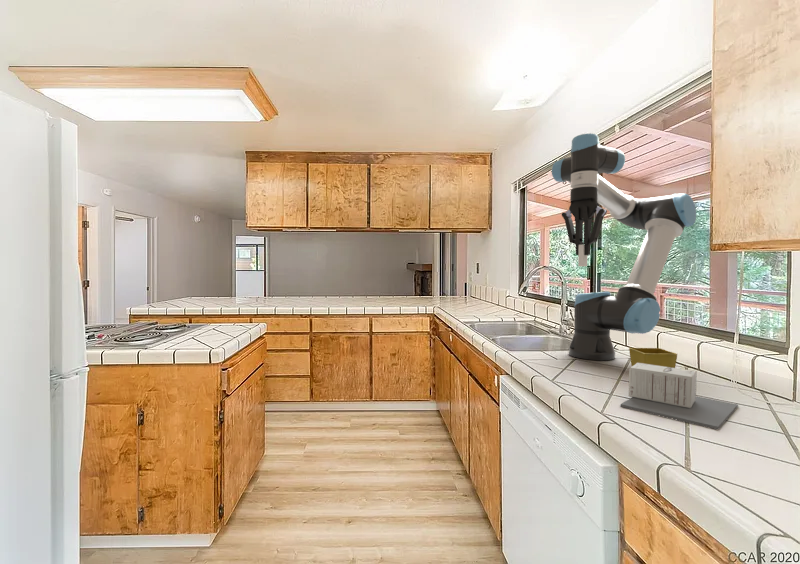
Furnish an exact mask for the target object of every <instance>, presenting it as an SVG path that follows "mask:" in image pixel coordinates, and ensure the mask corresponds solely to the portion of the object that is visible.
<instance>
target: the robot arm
mask: <svg viewBox="0 0 800 564" xmlns="http://www.w3.org/2000/svg"><path fill="white" fill-rule="evenodd" d="M625 164H626V157H625V153H624V152H623V151H622V150H620V149H617V148H615V147H609V146H605V145H602V144H600V139H599V136H598V134H596V133H591V132H590V133H584V134H583V133H582V134H579V135H576V136H574V137H573V138H572V140H571V148H570V156H568V157H564V158H562V159H559V160H556V161H555V162H554V163H553V165H552V166H551V167H552V168H551V176H552V178H553V179H554V181H556V183H557V182H558V183H566V182H568V183H570V188H571V189H570V197H569V198H570V206H569V208H568V210H566V211H565V212H562V213H561V216H562V218H563V220H564V222H565V227H566V228H565V229H566V232H567V235H568V240H569V243H570V244H574V245H575V255H576V256H577V257H578V260H577V261H578V262H577V263H578V264H577V265H578V267H588V256H590V255H591V246H592V244H594V243H597V242H598V239H599V235H600V231H601V229H602V225H603V221H604V217H605V216H606V215H607V213H608V211H609V215H610V216H611V217H612V218H613V219H614V220H615V221H617V222H619V223H621V224H623V225H625V226H628V227H630V228H633V229H635V230H636V229H637V230H642V231H643V230H644V231H646V234H645V236H644V239H643V241H642V244H641V246H640V249H639V250H638V254H637V257H636V259H635V262H634V264H633V266H632V269H631V272H630V274H629V276H628V279H627V282H626V284H625V285H623V286H620V287H619V288H618V290H617V293H616V294H615V295H612V294H611V292H610V291H600V292H599V291H597V292H586V293H585V292H584V293H578V294H576V296H575V299H574V305H573V307H574V322H573V323H574V324H573V325H574V326H573V327H574V328H573V329H574V332H573V337H572V339H571V342H570V344H569V347H568V355H569V356H570V357H574V358H578V359H583V360H591V361H610V360H614V359H615V358H616V351H615V350H616V349H615V348H614V344H613V342H612V338H611V331H617V332H623V333H629V334H642V335H643V334H647V333H650V332H651V331H653V330H654V329H655V327H656V326H657V324H658V322H659V320H660V317H661V316H660V315H661V313H660V312H661V306H660V305H659V302H658V300H657V296H656V295H655V291H656V289H657V286H658V283H659V280H660V278H661V275H662V272H663V271H664V267H665V266H666V265H665V264H666V262H667V260H668V258H669V254H670V252H671V249H672V247H673V244H674V241H675V239H676V238H679V237H680V236H681V235H682V234H683V232H684V229H685V228H689V227H692V226H693V225H694V224H695V223H696V220H697V209H696V205H695V202H694V200H693V198H692V197H691V196H690V195H689V194H687V193H684V192H683V193H673V194H670V195H662V196H655V197H654V196H653V197H646V198H635V197H634V196H632V195H629V194H624V193H623V192H622V191H621V190H619V188H617V187H616V186H614V185H613V184H612V183H610V182H609V181H608V180H606V179H605V178H603V176H601V175H600V174H605V175H606V174H607V175H609V174H616V173H618V172H620V171H621V170H622V169H623V167H624V166H625ZM601 206H602V207H603V208H602V207H601ZM595 214H596V215H595ZM594 215H595V219H594V221H593V216H594ZM572 217H574V221H573V219H572ZM592 222H593V225H592ZM574 223H575V224H574ZM574 225H575V226H574ZM592 226H593V227H592Z"/></svg>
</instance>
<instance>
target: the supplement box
mask: <svg viewBox="0 0 800 564" xmlns="http://www.w3.org/2000/svg"><path fill="white" fill-rule="evenodd" d="M697 372H698V371H697V370H691V369H682V368H676V367H675V368H671V367H664V366H657V365H651V364H644V363H636V364H635V365H634V366H632V365H631V366H630V367H629V369H628V397H630V398H632V397H635V398H640V399H645V400H650V401H655V402H660V403H665V404H670V405H675V406H680V407H686V408H691V407H692V405H693V403H694V402H695V400H696V396H697V376H698V375H697Z"/></svg>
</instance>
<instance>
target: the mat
mask: <svg viewBox="0 0 800 564" xmlns="http://www.w3.org/2000/svg"><path fill="white" fill-rule="evenodd" d="M620 408H625V409H629V410H633V411H637V412H642V413H646V414H650V415H654V416H658V415H660V416H659V417H662V416H664V418H666V417H668V418H667V419H671V418H673V419H672V420H675V419H677V420H676V421H679V420H680V422H683V421H684V422H683V423H688V424H692V425H695V426H701V427H704V426H705V428H708V427H710V429H713V428H714V429H713V430H717V429H718V430H719V429H721V427H722V426H723V425H724V424H725V422H727V420H728V419H729V418H730V417H731V416H732V415H733V413H734V412H735V411H736V410H737V409H738V408H739V404H737V403H733V402H728V401H722V400H717V399H713V398H712V399H711V398H707V397H702V396H697V395H696V400H695V402H694V403H693V405H692V407H691V408H686V407H680V406H675V405H670V404H665V403H660V402H655V401H650V400H645V399H640V398H635V397H630V398H628V399H627V400H625V401H624V402H622V403H620Z"/></svg>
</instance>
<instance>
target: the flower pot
mask: <svg viewBox="0 0 800 564" xmlns="http://www.w3.org/2000/svg"><path fill="white" fill-rule="evenodd" d="M628 350H629V358H630V364H631V365H630V366H631V367H632V366H634V365H635V364H636V363H644V364H651V365H657V366H664V367H671V368H676V365H677V360H678V359H677V358H678V353H676V352H672V351H670V350H666V349H663V348H660V347H629V348H628Z"/></svg>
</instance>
